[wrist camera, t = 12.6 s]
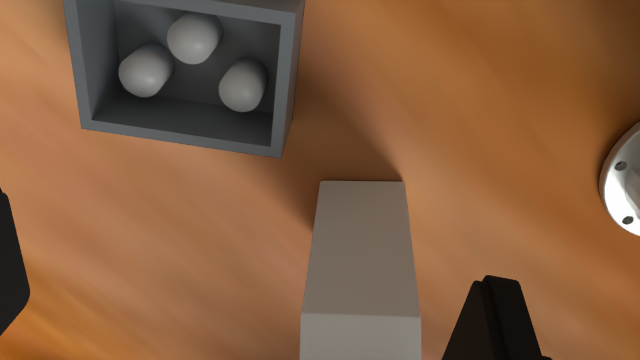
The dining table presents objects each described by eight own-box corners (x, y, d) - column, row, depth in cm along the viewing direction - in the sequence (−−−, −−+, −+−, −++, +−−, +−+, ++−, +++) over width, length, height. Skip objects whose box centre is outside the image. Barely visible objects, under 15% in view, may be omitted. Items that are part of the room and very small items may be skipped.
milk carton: (320, 179, 43) (292, 370, 27) (404, 180, 42) (428, 376, 26) (322, 244, 47) (299, 445, 31) (400, 246, 46) (418, 452, 30)
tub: (306, -10, 35) (295, 13, 30) (292, 120, 40) (281, 158, 35) (104, -41, 35) (59, -23, 30) (117, 94, 40) (81, 128, 35)
